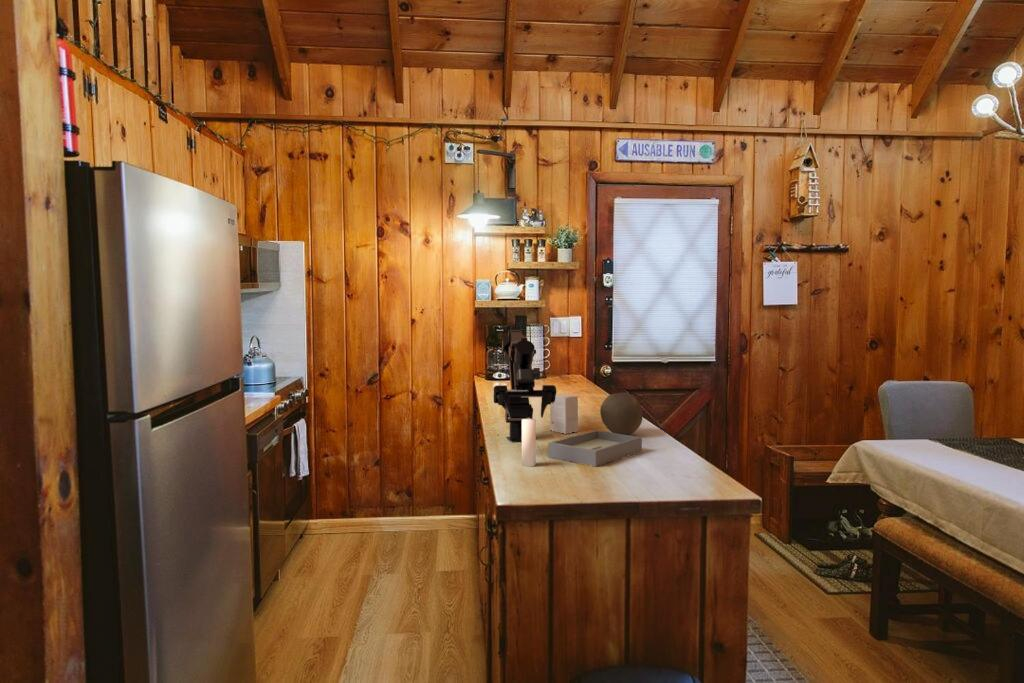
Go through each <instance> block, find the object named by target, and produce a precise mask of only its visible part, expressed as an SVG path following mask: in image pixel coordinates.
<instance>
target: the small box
mask: <svg viewBox="0 0 1024 683" xmlns="http://www.w3.org/2000/svg"><path fill="white" fill-rule="evenodd" d="M578 398H579V397H578V396H577V395H573V394H565V393H559V394H557V393H556V397H555V402H553V403H551V404H550V405H549V406H550V408H549V410H550V411H549V418H550V420H549V423H550V424H549V431H550V430H552V431H551V432H553V431H556V432H555V433H558V432H560V433H559V434H562V433H564V434H563V435H567V434H566V433H570V434H573V433H572V432H575V433H577V432H578V431H579V430H578V429H579V426H578V425H579V420H578V419H579V415H578V414H579V413H578V412H579V408H578V407H579V406H578V404H579V402H578Z"/></svg>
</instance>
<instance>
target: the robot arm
mask: <svg viewBox="0 0 1024 683" xmlns="http://www.w3.org/2000/svg"><path fill="white" fill-rule="evenodd" d="M501 353H503V359H504V360H505V361H506V362H507V363H508V368H509V380H510V389H508V385H494V387H493V397H492V398H493V403H494V404H497V405H498V406H501V407H502V408H503V409H504V410H505V412H504V420H505V423H507V424H508V423H509V436H506V439H507V438H508V439H509V440H508V439H507V440H508V441H510V442H511V441H517V442H522V419H534V418H533V415H534V408H533V407H532V404H530V398H541V403H540V418H543V417H544V414H545V411H546V408H547V406H550V404H551V403H553V402H555V397H556V395H557V392H558V391H557V387H556V386H555V385H554V384H542V387H541V388H542V389H534V388H535V380H536V381H537V380H538V381H539V380H540V379H541V369H540V367H533V366H532V365H533V364H532V363H533V361H534V357H535V355H536V354H537V350H536V349H535V345H534V343H533V342H531V341H529V340H528V338H527V337H526V336H524V331H523V330H521V329H510V330H508V331H507V334H506V335H505V336H504V337H502V342H501ZM532 367H533V368H532Z"/></svg>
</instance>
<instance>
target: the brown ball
mask: <svg viewBox="0 0 1024 683" xmlns="http://www.w3.org/2000/svg"><path fill="white" fill-rule="evenodd" d="M599 411H600V412H599V413H600V414H599V415H600V418H601V420H602V423H603V425H604V426H605V427H606V428H607V430H608V431H609V432H611V433H618V434H624V435H630V436H631V435H632V434H634V433H635V432H637V430H638V429H639V428H640V426H641V425H642V422H643V418H644V417H643V409H642V405H641V403H640V402H639V400H638V399H637V398H636V397H635V396H634V395H632V394H630V393H628V392H616V393H612V394H611V393H610V394H609V395H608V396H606V398H605V399H604V400H603V401H602V402H601V406H600V410H599Z"/></svg>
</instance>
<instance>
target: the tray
mask: <svg viewBox="0 0 1024 683" xmlns="http://www.w3.org/2000/svg"><path fill="white" fill-rule="evenodd" d="M642 439H643V437H641V436H635V435H631V434H630V435H624V434H618V433H613V432H611V431H604V430H597V429H595V430H591V431H587V432H584V433H581V434H575V435H572V436H568V437H565V438H560V439H557V440H553V441H549V442H547V443H548V444H547V447H548V448H547V449H548V450H547V454H548V456H547V457H548V458H549V457H550V459H554V458H556V459H555V460H559V459H561V460H560V461H564V460H567V461H566V462H569V461H572V462H571V463H574V462H577V463H576V464H578V463H583V464H587V465H586V466H588V465H592V466H591V467H593V466H597V467H599V466H598V465H600V466H602V465H601V464H603V465H605V464H604V463H606V464H608V463H607V462H609V463H611V462H610V461H612V462H615V461H617V459H618V460H621V459H624V458H627V457H629V456H628V455H630V456H632V455H631V454H633V455H635V454H634V453H636V454H638V453H637V452H639V453H641V452H640V451H642V449H643V448H642V446H643V445H642V444H643V440H642ZM642 452H643V451H642ZM626 456H627V457H626ZM623 457H624V458H623ZM620 458H621V459H620ZM614 460H615V461H614ZM583 464H582V465H583Z"/></svg>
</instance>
